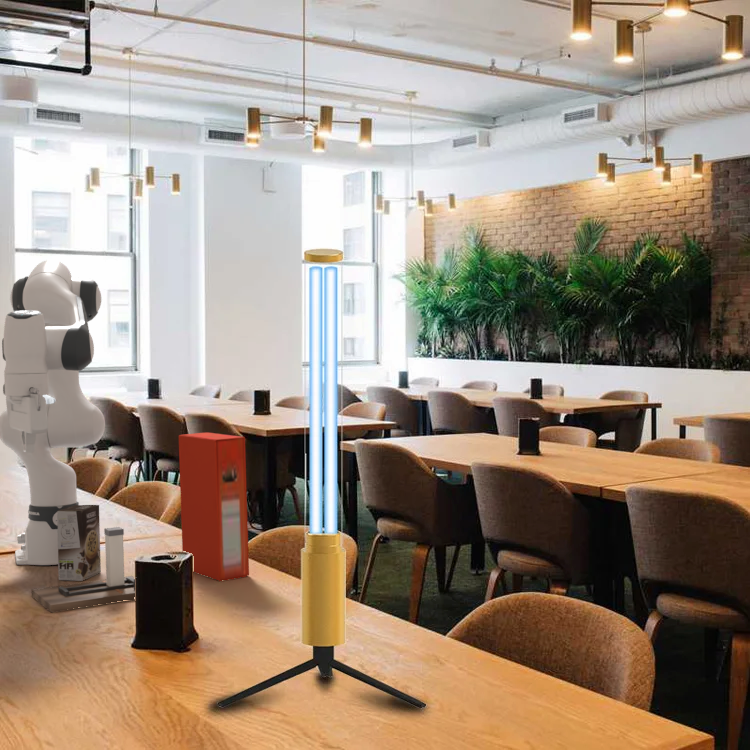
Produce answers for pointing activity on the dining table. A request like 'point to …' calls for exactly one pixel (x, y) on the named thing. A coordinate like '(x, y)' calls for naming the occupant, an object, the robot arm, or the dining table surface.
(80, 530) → the coffee box
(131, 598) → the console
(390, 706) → the dining table surface
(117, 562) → the fader tab
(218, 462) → the file binder
